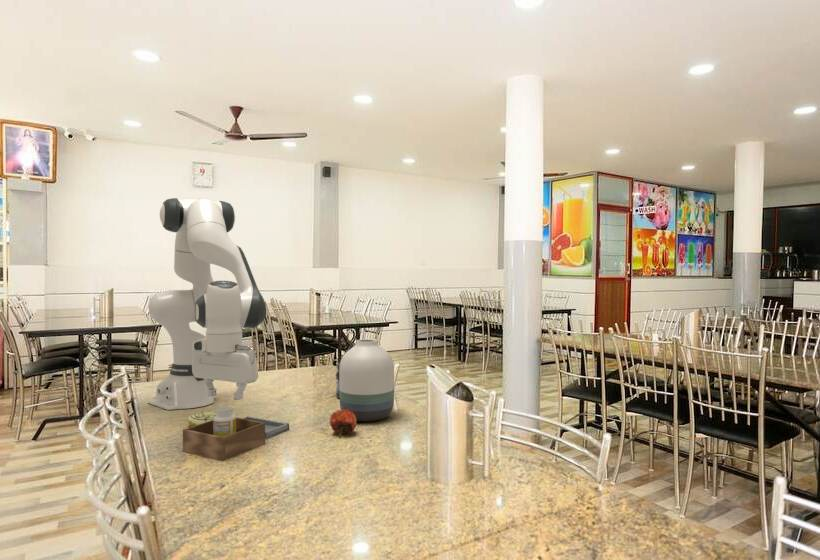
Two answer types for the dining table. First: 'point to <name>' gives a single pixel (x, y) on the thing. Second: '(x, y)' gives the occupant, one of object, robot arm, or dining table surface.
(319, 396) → the dining table surface
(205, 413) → the decorated donut
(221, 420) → the supplement bottle
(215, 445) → the box
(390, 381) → the vase
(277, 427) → the tray
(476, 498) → the dining table surface
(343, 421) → the pomegranate
